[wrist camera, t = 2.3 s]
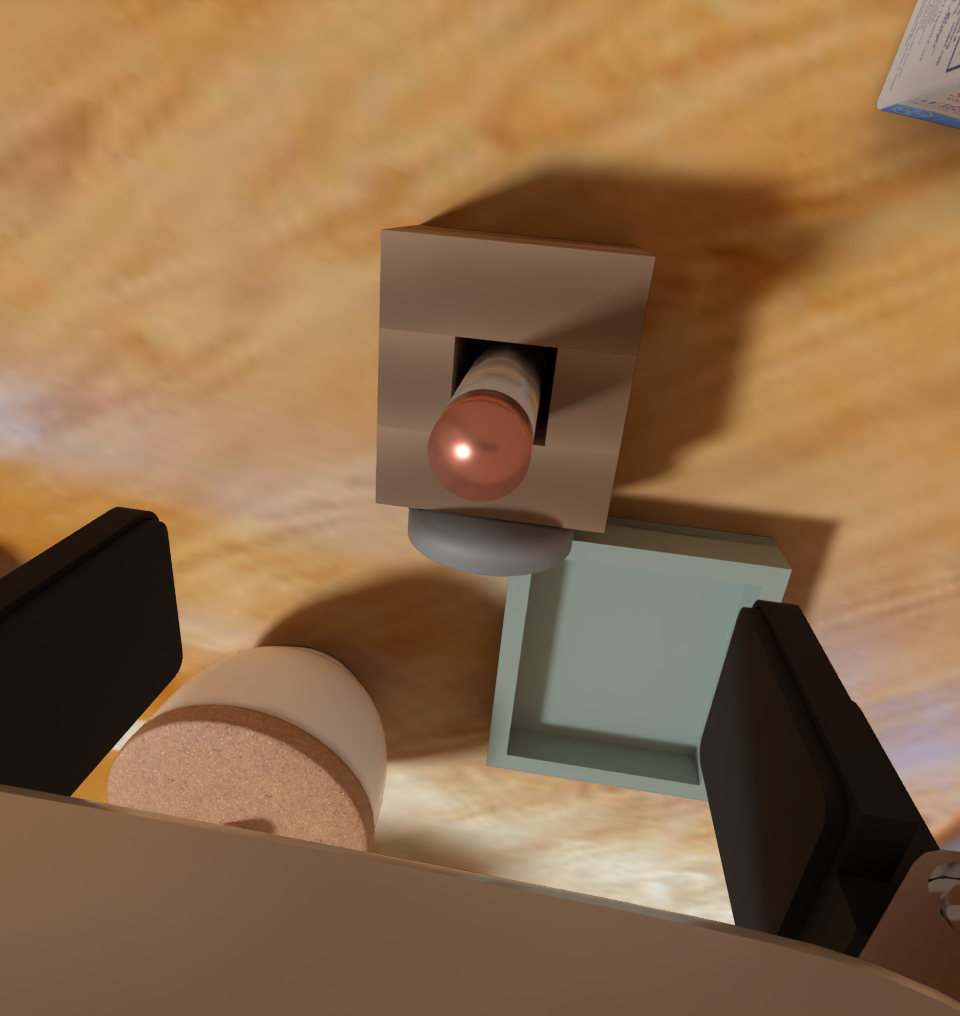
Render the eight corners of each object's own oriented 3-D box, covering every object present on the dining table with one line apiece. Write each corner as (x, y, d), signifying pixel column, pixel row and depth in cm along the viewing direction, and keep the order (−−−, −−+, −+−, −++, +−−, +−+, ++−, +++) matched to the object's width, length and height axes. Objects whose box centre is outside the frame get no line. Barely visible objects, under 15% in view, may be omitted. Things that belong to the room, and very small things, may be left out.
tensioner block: (418, 225, 27) (368, 231, 21) (638, 246, 27) (661, 260, 20) (407, 495, 33) (364, 572, 26) (590, 519, 32) (595, 604, 25)
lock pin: (485, 321, 29) (430, 397, 17) (550, 329, 28) (536, 410, 17) (480, 385, 30) (424, 494, 19) (541, 392, 30) (524, 507, 18)
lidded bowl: (456, 717, 38) (416, 899, 28) (312, 805, 43) (233, 988, 33) (299, 564, 35) (191, 706, 25) (161, 675, 39) (24, 834, 30)
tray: (519, 504, 32) (514, 532, 29) (772, 537, 31) (792, 569, 28) (492, 725, 38) (486, 765, 35) (704, 758, 37) (715, 802, 34)
